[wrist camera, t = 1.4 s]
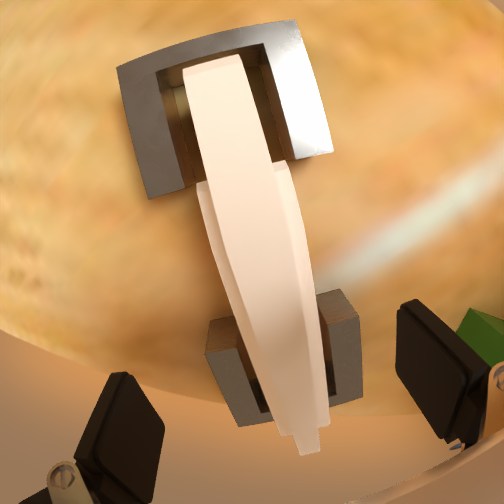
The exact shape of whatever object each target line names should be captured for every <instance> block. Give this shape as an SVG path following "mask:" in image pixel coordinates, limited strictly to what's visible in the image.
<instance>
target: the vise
mask: <svg viewBox="0 0 504 504" xmlns="http://www.w3.org/2000/svg"><path fill="white" fill-rule="evenodd" d="M237 54H239V56H240V59H241V61H242V64H243V67H244V69H245V68H249V67H254V66H259V68H260V71H261V75H262V78H263V82H264V85H265V89H266V92H267V96H268V99H269V103H270V107H271V110H272V114H273V118H274V121H275V125H276V129H277V133H278V137H279V141H280V145H281V149H282V152H283V157H284V159H289V160H296V159H301V158H306V157H311V156H315V155H320V154H325V153H331V152H334V151H333V146H332V142H331V138H330V133H329V129H328V125H327V121H326V117H325V114H324V110H323V106H322V102H321V99H320V95H319V92H318V88H317V85H316V81H315V78H314V75H313V71H312V68H311V65H310V62H309V59H308V55H307V52H306V49H305V46H304V43H303V41H302V38H301V35H300V32H299V29H298V26H297V24H296V21H295V20H286V21H278V22H271V23H264V24H258V25H252V26H247V27H241V28H236V29H232V30H227V31H223V32H219V33H214V34H210V35H207V36H203V37H199V38H196V39H192V40H189V41H185V42H182V43H179V44H176V45H173V46H170V47H167V48H164V49H161V50H158V51H155V52H152V53H150V54H147V55H144V56H142V57H139V58H137V59H134V60H132V61H129V62H127V63H125V64H122V65H120V66H118V67H116V69H117V74H118V79H119V84H120V89H121V94H122V99H123V104H124V108H125V113H126V117H127V121H128V125H129V130H130V134H131V138H132V142H133V146H134V150H135V153H136V157H137V161H138V165H139V168H140V172H141V176H142V179H143V183H144V186H145V189H146V193H147V196H148V200H149V199H152V198H155V197H158V196H161V195H164V194H168V193H171V192H174V191H177V190H181V189H184V188H186V187H188V186H190V185H192V184H194V183H196V182H197V181H196V177H195V174H194V170H193V167H192V163H191V159H190V156H189V152H188V148H187V144H186V141H185V137H184V133H183V129H182V125H181V122H180V118H179V114H178V110H177V106H176V102H175V98H174V94H173V90H172V88H175V87H178V86H181V85H184V79H183V69H185V68H188V67H191V66H195V65H198V64H202V63H205V62H209V61H212V60H216V59H220V58H224V57H228V56H232V55H237ZM316 302H317V309H318V316H319V323H320V331H321V339H322V347H323V355H324V363H325V372H326V382H327V391H328V402H329V407H333V406H336V405H339V404H343V403H346V402H349V401H352V400H355V399H358V398H361V397H363V378H362V353H361V336H360V322H359V315H358V314H357V312H356V311H355V310H354V308H353V307H352V305H351V304H350V302H349V301H348V300H347V298H346V297H345V295H344V294H343V293H342V291H341V290H340V289H337V290H333V291H330V292H326V293H323V294H319V295H316ZM205 356H206V358H207V361H208V363H209V365H210V368H211V370H212V372H213V374H214V377H215V379H216V381H217V383H218V385H219V387H220V390H221V392H222V394H223V396H224V398H225V400H226V402H227V405H228V407H229V409H230V411H231V413H232V415H233V417H234V419H235V421H236V423H237V424H238V427H242V426H249V425H255V424H260V423H266V422H271V421H274V419H273V416H272V414H271V411H270V409H269V406H268V404H267V401H266V399H265V396H264V393H263V391H262V388H261V386H260V383H259V381H258V378H257V375H256V373H255V370H254V367H253V365H252V362H251V360H250V357H249V354H248V351H247V349H246V346H245V343H244V341H243V338H242V335H241V333H240V330H239V327H238V324H237V321H236V319H235V316H230V317H226V318H221V319H217V320H212V321H210V325H209V331H208V337H207V343H206V349H205Z"/></svg>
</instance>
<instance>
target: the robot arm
mask: <svg viewBox="0 0 504 504" xmlns="http://www.w3.org/2000/svg"><path fill="white" fill-rule="evenodd" d="M395 369H396V373H397V375H398V377H399V378H400V380H401V381H402V383H403V384H404V386H405V387H406V389H407V390H408V392H409V393H410V395H411V396H412V398H413V399H414V401H415V402H416V404H417V405H418V407H419V408H420V410H421V411H422V413H423V414H424V416H425V418H426V419H427V421H428V422H429V424H430V425H431V427H432V428H433V430H434V432H435V433H436V435H437V436H438V438H440V439H443V438H444V440H445V441H446V442H447V444H449V443H450V442H452V441H454V440H456V439H457V438H459V440H460V441H461V443H463V444H462V448H461V453H459V454H458V455H456V456H454V457H452V458H450V459H449V460H447V461H445V462H443V463H441V464H439V465H438V466H435V467H433V468H432V469H429V470H427V471H426V472H423V473H421V474H419V475H417V476H415V477H413V478H411V479H409V480H406V481H404V482H402V483H399V484H397V485H395V486H392V487H390V488H387V489H385V490H382V491H379V492H377V493H374V494H371V495H369V496H366V497H363V498H360V499H357V500H354V501H351V502H347V503H344V504H504V361H503V362H500V363H498V364H496V365H495V366H494V367H493V368H491V367H490V366H489V365H488V364H487V363H486V362H485V361H484V360H483V359H482V358H481V357H480V356H479V355H478V354H477V353H476V352H475V351H474V350H473V349H472V348H471V347H470V346H469V345H468V344H467V343H466V342H465V341H464V340H462V339H461V338H460V337H459V336H458V335H457V334H456V333H455V332H454V331H453V330H452V329H451V328H449V327H448V326H447V325H446V324H445V323H444V322H443V321H442V320H441V319H440V318H438V317H437V316H436V315H435V314H434V313H433V312H432V311H431V310H429V309H428V308H427V307H426V306H425V305H424V304H423V303H421V302H420V301H419V300H418V299H413V300H411V301H408V302H405V303H403V304H401V306H400V309H399V310H397V336H396V363H395ZM164 433H165V426H164V423H163V421H162V420H161V418H160V417H159V415H158V414H157V412H156V411H155V409H154V408H153V406H152V405H151V403H150V402H149V400H148V399H147V397H146V396H145V394H144V392H143V391H142V389H141V388H140V386H139V384H138V383H137V381H136V379H135V378H134V376H133V375H130V374H129V373H128V372H125V371H124V372H116V373H111V375H110V376H109V378H108V380H107V382H106V385H105V387H104V389H103V391H102V393H101V395H100V397H99V399H98V401H97V404H96V406H95V408H94V410H93V412H92V415H91V417H90V419H89V421H88V424H87V426H86V428H85V430H84V433H83V435H82V437H81V440H80V442H79V444H78V447H77V449H76V452H75V454H74V459H75V460H76V463H75V464H74V463H72V462H69V461H62V462H59V463H57V464H56V465H54V466H53V467H52V468H51V469H50V471H49V472H48V474H47V480H46V481H47V487H46V488H45V489H43V490H41V491H39V492H37V493H36V494H34V495H32V496H30V497H28V498H27V499H25V500H23V501H21V502H20V503H19V504H148V503H151V502H152V499H153V493H154V487H155V481H156V475H157V470H158V464H159V459H160V454H161V448H162V443H163V438H164Z"/></svg>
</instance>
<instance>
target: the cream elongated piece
mask: <svg viewBox="0 0 504 504" xmlns="http://www.w3.org/2000/svg"><path fill="white" fill-rule="evenodd" d="M183 79H184V84H185V88H186V93H187V97H188V101H189V106H190V110H191V114H192V118H193V123H194V127H195V131H196V135H197V140H198V144H199V148H200V152H201V156H202V160H203V164H204V168H205V172H206V176H207V180H206V181H202V182H199V183H196V187H197V195H198V199H199V203H200V207H201V211H202V215H203V219H204V223H205V227H206V231H207V234H208V238H209V242H210V246H211V249H212V252H213V255H214V258H215V261H216V264H217V267H218V270H219V273H220V276H221V279H222V282H223V285H224V288H225V290H226V293H227V296H228V299H229V302H230V305H231V308H232V310H233V313H234V316H235V319H236V321H237V324H238V327H239V330H240V333H241V335H242V338H243V341H244V343H245V346H246V349H247V351H248V354H249V357H250V360H251V362H252V365H253V367H254V370H255V373H256V375H257V378H258V381H259V383H260V386H261V388H262V391H263V393H264V396H265V399H266V401H267V404H268V406H269V409H270V411H271V414H272V416H273V419H274V421H275V423H276V426H277V429H278V431H279V433H280V436H281V437H284V436H288V435H292V436H293V439H294V441H295V444H296V446H297V449H298V451H299V454H300V456H302V455H307V454H311V453H315V452H319V451H321V449H320V439H319V429H318V428H322V427H326V426H330V413H329V402H328V391H327V382H326V372H325V363H324V355H323V347H322V339H321V331H320V323H319V316H318V309H317V302H316V295H315V289H314V282H313V276H312V270H311V263H310V257H309V252H308V246H307V240H306V234H305V229H304V224H303V220H302V216H301V212H300V208H299V204H298V200H297V196H296V192H295V189H294V185H293V181H292V177H291V174H290V170H289V167H288V165H287V163H286V161H285V160H283V161H279V162H275V163H272V161H271V158H270V154H269V151H268V147H267V144H266V140H265V136H264V133H263V130H262V126H261V123H260V119H259V116H258V112H257V109H256V106H255V102H254V99H253V96H252V92H251V89H250V86H249V83H248V80H247V76H246V73H245V70H244V67H243V64H242V61H241V59H240V56H239V54H237V55H232V56H228V57H224V58H220V59H216V60H212V61H209V62H205V63H202V64H198V65H195V66H191V67H188V68H185V69H183Z"/></svg>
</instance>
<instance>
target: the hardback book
mask: <svg viewBox="0 0 504 504" xmlns="http://www.w3.org/2000/svg"><path fill="white" fill-rule="evenodd" d="M456 334H457V335H458V336H459V337H460V338H461V339H462V340H464V341H465V342H466V343H467V344H468V345H469V346H470V347H471V348H472V349H473V350H474V351H475V352H476V353H477V354H478V355H479V356H480V357H481V358H482V359H483V360H484V361H485V362H486V363H487V364H488V365H489V366H490V367H491V368H493V367H494V366H495V365H496V364H498V363H500V362H503V361H504V320H501V319H498V318H496V317H493V316H490V315H488V314H485V313H482V312H479V311H477V310H474V309H471V308H469V310H468V312H467V314H466V316H465V317H464V319H463V321H462V323H461V325H460V326H459V328H458V330H457V332H456Z"/></svg>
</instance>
